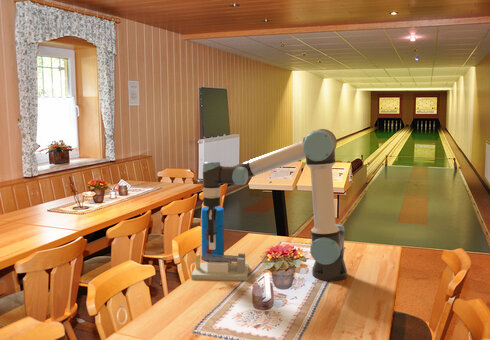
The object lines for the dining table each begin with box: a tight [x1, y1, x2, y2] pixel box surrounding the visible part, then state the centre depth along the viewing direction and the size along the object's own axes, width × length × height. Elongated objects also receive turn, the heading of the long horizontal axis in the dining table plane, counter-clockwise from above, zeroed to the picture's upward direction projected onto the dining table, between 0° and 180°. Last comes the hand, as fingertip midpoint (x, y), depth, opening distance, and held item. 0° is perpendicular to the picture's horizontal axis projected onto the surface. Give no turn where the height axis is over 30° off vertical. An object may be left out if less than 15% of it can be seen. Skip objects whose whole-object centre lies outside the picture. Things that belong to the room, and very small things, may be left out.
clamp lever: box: [200, 253, 244, 263], centre depth 215 cm, size 18×4×2 cm, turn 87°
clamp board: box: [190, 253, 250, 281], centre depth 216 cm, size 24×16×8 cm, turn 87°
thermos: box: [201, 206, 225, 263], centre depth 235 cm, size 11×11×25 cm
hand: (212, 248), depth 215 cm, fingers closed
